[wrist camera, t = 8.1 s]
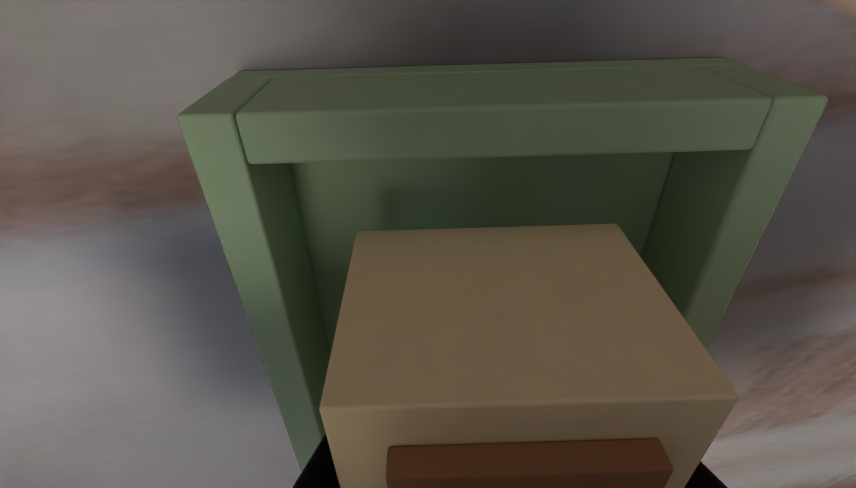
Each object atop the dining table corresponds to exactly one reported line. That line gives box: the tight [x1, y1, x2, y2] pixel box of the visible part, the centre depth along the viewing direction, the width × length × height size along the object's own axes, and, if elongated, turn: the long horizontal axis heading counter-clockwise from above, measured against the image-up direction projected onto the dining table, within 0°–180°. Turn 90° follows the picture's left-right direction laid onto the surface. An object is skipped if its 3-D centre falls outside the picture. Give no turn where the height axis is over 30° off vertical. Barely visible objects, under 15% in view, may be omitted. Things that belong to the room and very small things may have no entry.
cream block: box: [319, 224, 738, 488], centre depth 8 cm, size 5×7×4 cm, turn 1°
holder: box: [177, 57, 828, 471], centre depth 10 cm, size 9×12×3 cm
